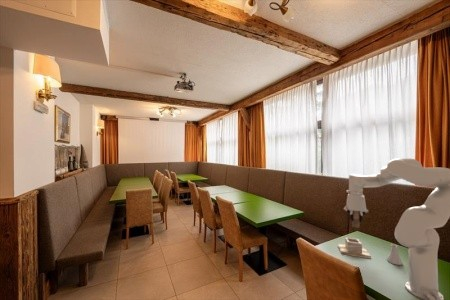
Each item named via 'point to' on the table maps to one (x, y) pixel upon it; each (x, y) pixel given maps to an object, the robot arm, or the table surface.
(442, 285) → the table surface
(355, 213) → the dowel
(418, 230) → the robot arm
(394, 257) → the flask
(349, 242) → the socket block
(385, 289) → the table surface
